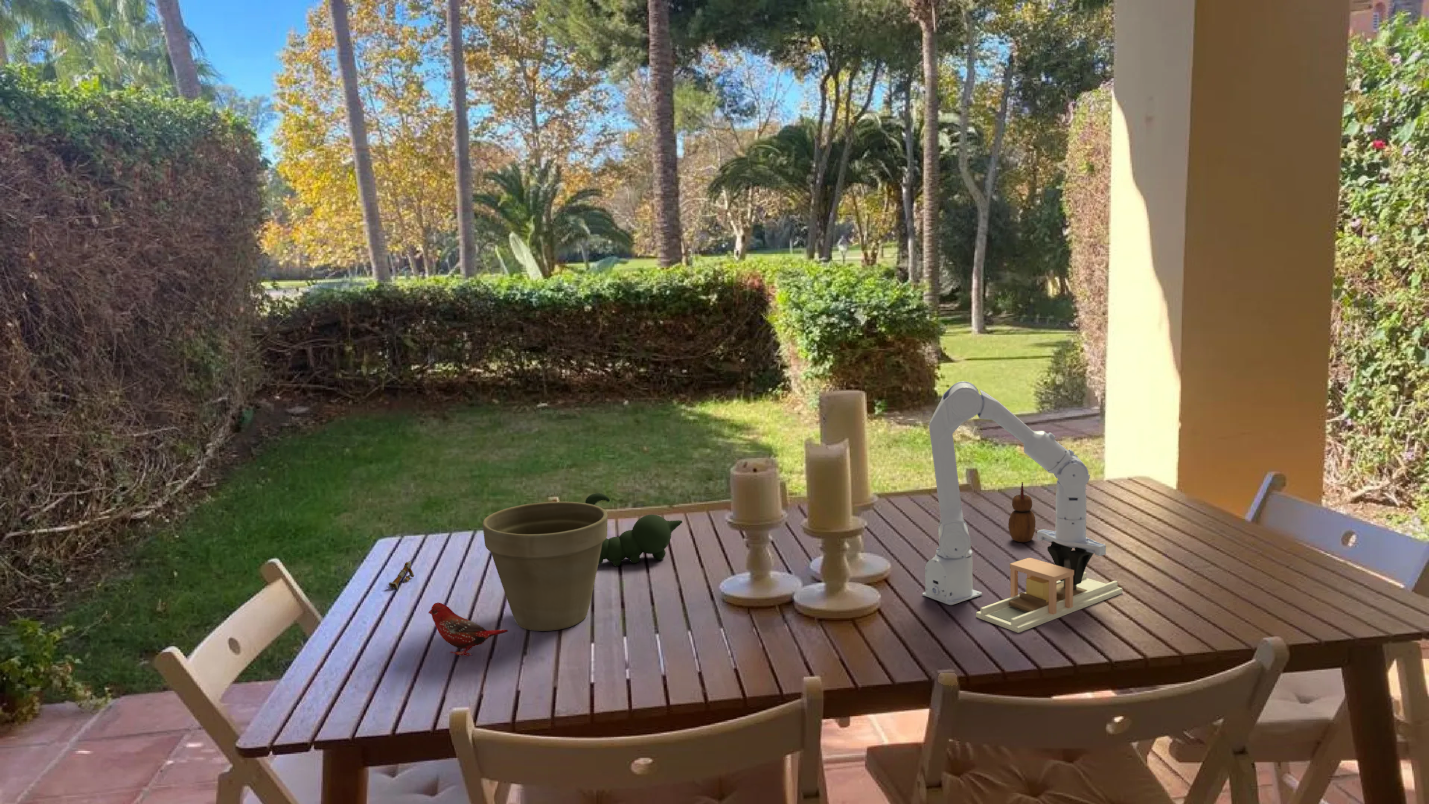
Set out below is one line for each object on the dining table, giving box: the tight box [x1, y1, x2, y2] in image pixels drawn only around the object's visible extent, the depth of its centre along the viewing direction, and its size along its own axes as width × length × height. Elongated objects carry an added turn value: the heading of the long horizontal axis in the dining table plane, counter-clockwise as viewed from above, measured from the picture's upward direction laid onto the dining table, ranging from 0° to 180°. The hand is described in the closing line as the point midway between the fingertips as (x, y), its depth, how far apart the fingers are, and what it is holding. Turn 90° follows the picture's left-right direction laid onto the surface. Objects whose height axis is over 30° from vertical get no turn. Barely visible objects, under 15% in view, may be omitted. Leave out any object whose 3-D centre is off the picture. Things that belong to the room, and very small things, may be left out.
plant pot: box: [482, 501, 609, 632], centre depth 188 cm, size 25×25×22 cm
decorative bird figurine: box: [428, 602, 509, 657], centre depth 172 cm, size 3×18×10 cm, turn 69°
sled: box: [1009, 557, 1087, 612], centre depth 183 cm, size 16×6×7 cm, turn 123°
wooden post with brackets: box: [388, 561, 415, 589], centre depth 216 cm, size 2×8×4 cm, turn 164°
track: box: [975, 557, 1123, 634], centre depth 184 cm, size 32×10×8 cm, turn 123°
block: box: [1025, 576, 1049, 602], centre depth 182 cm, size 4×4×4 cm
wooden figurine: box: [1007, 481, 1037, 543], centre depth 225 cm, size 7×6×15 cm
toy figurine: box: [584, 492, 683, 567], centre depth 223 cm, size 9×19×25 cm
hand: (1070, 581), depth 187 cm, fingers closed on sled, 2 cm apart
